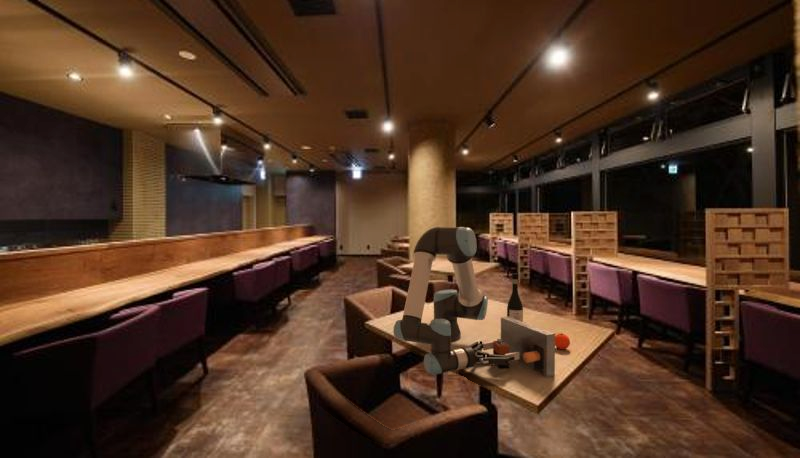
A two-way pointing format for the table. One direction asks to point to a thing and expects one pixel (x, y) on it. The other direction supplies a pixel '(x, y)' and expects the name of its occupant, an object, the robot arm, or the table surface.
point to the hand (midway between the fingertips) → (507, 349)
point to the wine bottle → (515, 301)
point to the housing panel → (530, 344)
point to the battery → (500, 350)
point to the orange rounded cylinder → (531, 356)
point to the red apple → (562, 341)
